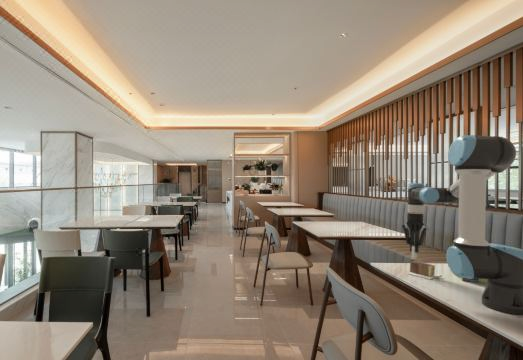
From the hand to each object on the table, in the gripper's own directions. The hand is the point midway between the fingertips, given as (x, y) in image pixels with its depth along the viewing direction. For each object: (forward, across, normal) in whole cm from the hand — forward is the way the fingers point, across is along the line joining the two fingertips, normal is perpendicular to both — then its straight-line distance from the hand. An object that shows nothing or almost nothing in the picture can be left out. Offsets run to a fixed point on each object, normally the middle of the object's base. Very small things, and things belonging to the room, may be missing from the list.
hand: (414, 258), depth 169 cm
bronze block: (+4, +1, 0) cm, 4 cm away
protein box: (+8, -20, -15) cm, 26 cm away
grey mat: (+7, -6, 0) cm, 9 cm away
